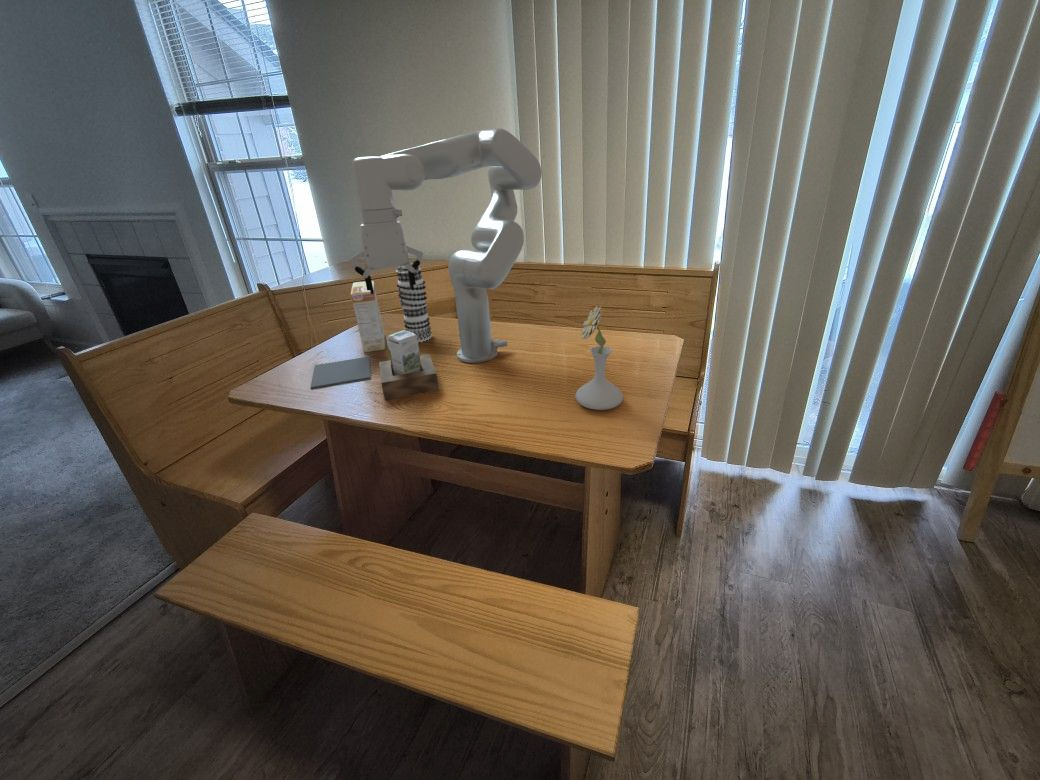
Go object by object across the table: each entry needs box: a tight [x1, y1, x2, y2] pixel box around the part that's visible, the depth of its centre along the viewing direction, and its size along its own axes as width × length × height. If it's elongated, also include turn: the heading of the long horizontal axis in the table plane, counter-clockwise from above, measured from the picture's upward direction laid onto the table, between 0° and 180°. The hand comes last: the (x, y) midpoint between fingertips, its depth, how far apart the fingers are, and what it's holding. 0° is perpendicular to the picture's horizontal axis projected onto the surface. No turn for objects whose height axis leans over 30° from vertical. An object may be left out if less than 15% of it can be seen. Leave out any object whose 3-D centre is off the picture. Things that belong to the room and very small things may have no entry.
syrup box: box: [385, 329, 422, 376], centre depth 120 cm, size 6×6×14 cm
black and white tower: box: [395, 262, 433, 343], centre depth 149 cm, size 9×9×25 cm
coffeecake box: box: [350, 280, 386, 353], centre depth 148 cm, size 15×7×20 cm, turn 15°
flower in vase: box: [574, 305, 624, 411], centre depth 103 cm, size 13×11×25 cm
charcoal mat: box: [310, 356, 372, 390], centre depth 132 cm, size 16×16×1 cm
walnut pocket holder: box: [378, 353, 440, 401], centre depth 122 cm, size 14×14×5 cm
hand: (392, 290), depth 111 cm, fingers open, 9 cm apart
